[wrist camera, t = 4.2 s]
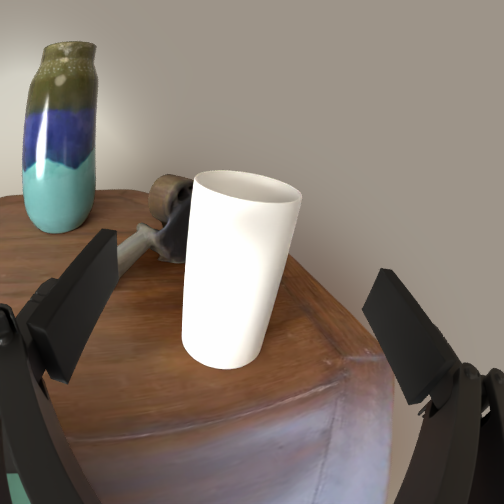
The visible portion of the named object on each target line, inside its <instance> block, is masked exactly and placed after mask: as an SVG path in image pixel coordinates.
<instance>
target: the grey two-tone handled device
mask: <svg viewBox="0 0 504 504" xmlns="http://www.w3.org/2000/svg"><path fill="white" fill-rule="evenodd" d="M193 184H194V180H192V179H188V178H185V177H181V176H176V175H171V174H167V175H163V176H161V177H160V178H158V179H157V180H156V181H155V182H154V184H153V185H152V187H151V190H150V193H149V198H148V205H149V209H150V212H151V214H152V216H153V217H155V218H156V219H158V220H159V221H161V222H162V225H163V229H161V230H160V231H159V230H156V229H153V228H151V227H149V226H148V225H147V224H144V223H139V224H138V225H137V232H136V233H134V234H133V235H132V236H130V237H129V238H128V239H126V240H125V241H124V242H122V243H121V244H120V245H118V246H117V257H118V273H119V278H120V277H121V276H122V275H123V274H124V273H125V272H126V271H127V270H128V269H129V268H130V267H131V266H132V265H133V264H134V262H135V261H137V260H138V259H139V258H140V257H141V256H142V255H143V254H144V253H145V252H146V251H147V249H148V248H150V249H151V250H153V251H155V252H157V253H159V254H160V257H159V259H158V260H160V261H165V262H172V263H186V253H187V241H188V230H189V219H190V210H191V201H192V192H193Z"/></svg>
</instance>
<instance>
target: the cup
mask: <svg viewBox="0 0 504 504" xmlns="http://www.w3.org/2000/svg"><path fill="white" fill-rule="evenodd" d="M301 202H302V194H301V193H300V192H299V191H298V190H297V189H295V188H294V187H292V186H290V185H288V184H286V183H284V182H281V181H278V180H276V179H273V178H269V177H266V176H262V175H257V174H252V173H246V172H239V171H226V170H216V171H207V172H202V173H199V174H198V175H196V176H195V179H194V184H193V192H192V201H191V210H190V219H189V230H188V241H187V253H186V266H185V281H184V298H183V319H182V342H183V345H184V347H185V349H186V350H187V352H188V353H189V354H190V355H191V356H192V357H193V358H194V359H195V360H197V361H199V362H200V363H202V364H204V365H207V366H210V367H213V368H218V369H234V368H239V367H242V366H245V365H247V364H249V363H250V362H252V361H253V360H254V359H255V358H256V357H257V356H258V354H259V352H260V350H261V346H262V343H263V340H264V336H265V333H266V330H267V326H268V323H269V319H270V316H271V313H272V309H273V306H274V302H275V299H276V295H277V292H278V288H279V285H280V281H281V278H282V274H283V270H284V267H285V263H286V259H287V256H288V252H289V248H290V245H291V241H292V237H293V233H294V230H295V226H296V222H297V218H298V214H299V210H300V205H301Z"/></svg>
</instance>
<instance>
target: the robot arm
mask: <svg viewBox="0 0 504 504" xmlns="http://www.w3.org/2000/svg"><path fill="white" fill-rule="evenodd" d="M118 281H119V273H118V257H117V231H116V230H109V229H101V230H100V231H99V232H98V234H97V235H96V236H95V237H94V238H93V239H92V240H91V241H90V242H89V243H88V245H87V246H86V247H85V248H84V249H83V250H82V251H81V253H80V254H79V255H78V256H77V257H76V258H75V260H74V261H73V262H72V263H71V264H70V265H69V267H68V268H67V269H66V270H65V272H64V273H63V274H62V275H61V276H60V278H59V279H55V278H50V279H49V280H47V281H46V282H44V283H43V284H41V286H40V287H39V288H38V289H37V291H36V292H35V294H33V296H32V297H31V298H30V301H28V302H27V303H26V305H25V306H24V307H23V309H22V310H21V311H20V313H19V314H18V315H17V317H16V318H15V316H14V314H13V311H12V308H11V307H10V306H8V305H7V304H2V303H1V304H0V504H12V500H11V495H10V490H9V485H8V480H7V473H6V467H5V459H4V450H3V437H2V426H3V430H4V434H5V437H6V441H7V444H8V447H9V450H10V453H11V456H12V459H13V462H14V465H15V468H16V470H17V473H18V476H19V478H20V481H21V483H22V485H23V488H24V490H25V492H26V495H27V497H28V499H29V501H30V503H31V504H102V503H101V501H100V500H99V498H98V497H97V495H96V493H95V492H94V490H93V489H92V487H91V485H90V484H89V482H88V480H87V478H86V477H85V475H84V473H83V471H82V469H81V467H80V466H79V464H78V462H77V460H76V458H75V456H74V454H73V452H72V450H71V448H70V446H69V443H68V441H67V439H66V437H65V435H64V432H63V430H62V428H61V425H60V423H59V420H58V418H57V415H56V413H55V410H54V408H53V405H52V402H51V399H50V397H49V394H48V391H47V388H46V385H45V382H44V380H43V378H42V375H43V373H44V371H45V369H46V370H47V372H48V374H49V376H50V378H51V379H53V380H56V381H59V382H62V383H65V384H68V383H69V381H70V378H71V376H72V374H73V371H74V369H75V367H76V364H77V362H78V360H79V358H80V356H81V353H82V351H83V349H84V347H85V345H86V343H87V341H88V339H89V336H90V334H91V332H92V330H93V328H94V326H95V324H96V322H97V320H98V318H99V316H100V314H101V312H102V311H103V309H104V307H105V305H106V303H107V301H108V299H109V297H110V295H111V294H112V292H113V290H114V288H115V286H116V285H117V283H118ZM362 311H363V313H364V315H365V316H366V318H367V320H368V322H369V324H370V326H371V328H372V330H373V332H374V333H375V336H376V338H377V340H378V342H379V344H380V346H381V348H382V350H383V352H384V354H385V356H386V358H387V360H388V362H389V364H390V366H391V368H392V370H393V372H394V374H395V376H396V379H397V381H398V383H399V385H400V387H401V389H402V391H403V394H404V396H405V398H406V400H407V403H408V405H412V404H417V403H421V402H422V401H423V400H424V399H425V398H426V397H427V396H428V395H430V396H431V400H430V401H429V402H428V403H427V404H426V405H425V406H424V407H423V408H422V409H421V410H420V411H419V413H418V415H420V414H422V413H423V412H424V411H425V414H424V415H423V416H422V417H423V418H424V419H423V423H422V426H421V430H420V433H419V437H418V440H417V444H416V447H415V450H414V453H413V456H412V459H411V462H410V464H409V467H408V470H407V473H406V475H405V478H404V480H403V483H402V485H401V488H400V490H399V492H398V495H397V497H396V499H395V502H394V504H504V373H503V372H502V371H501V370H499V369H497V368H493V369H491V370H490V372H489V373H488V374H487V375H486V376H485V375H480V373H479V371H478V370H477V369H476V368H475V367H474V366H473V365H472V364H470V363H463V364H462V363H461V361H460V360H459V358H458V357H457V355H456V354H455V352H454V351H453V349H452V348H451V346H450V345H449V343H447V340H446V339H445V337H443V335H442V333H441V332H440V331H439V329H438V327H436V326H435V325H434V324H433V323H432V322H431V320H430V319H429V318H428V316H427V315H426V313H425V312H424V311H423V309H422V308H421V307H420V305H419V304H418V303H417V301H416V300H415V299H414V297H413V296H412V295H411V293H410V292H409V291H408V289H407V288H406V287H405V286H404V284H403V283H402V282H401V281H400V279H399V278H398V277H397V275H396V274H395V273H394V272H393V271H392V270H390V269H383V268H381V269H380V271H379V273H378V276H377V278H376V280H375V282H374V285H373V287H372V289H371V291H370V293H369V295H368V298H367V300H366V302H365V304H364V306H363V308H362ZM488 406H490V412H489V413H488V414H487V415H485V417H483V418H482V414H481V413H482V412H483V411H484V410H485V409H486V408H487V407H488Z"/></svg>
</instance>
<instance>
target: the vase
mask: <svg viewBox="0 0 504 504" xmlns="http://www.w3.org/2000/svg"><path fill="white" fill-rule="evenodd" d="M95 52H96V45H95V44H93V43H89V42H81V41H70V42H60V43H55V44H51V45H49V46H47V47H45V48H44V51H43V55H42V60H41V65H40V67H39V69H38V71H37V73H36V75H35V76H34V78H33V80H32V82H31V84H30V88H29V93H28V100H27V107H26V114H25V124H24V136H23V154H22V155H23V156H22V183H23V197H24V204H25V208H26V212H27V214H28V216H29V218H30V220H31V221H32V222H33V224H34V225H35V226H36V227H37V228H38V229H40V230H41V231H43V232H46V233H52V234H58V233H65V232H69V231H72V230H74V229H76V228H78V227H79V226H81V225H82V224H83V223H84V222H85V220H86V219H87V217H88V215H89V214H90V212H91V210H92V207H93V204H94V199H95V186H96V170H95V169H96V168H95V135H96V134H95V133H96V109H97V94H98V76H97V73H96V70H95V66H94V58H95Z"/></svg>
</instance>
